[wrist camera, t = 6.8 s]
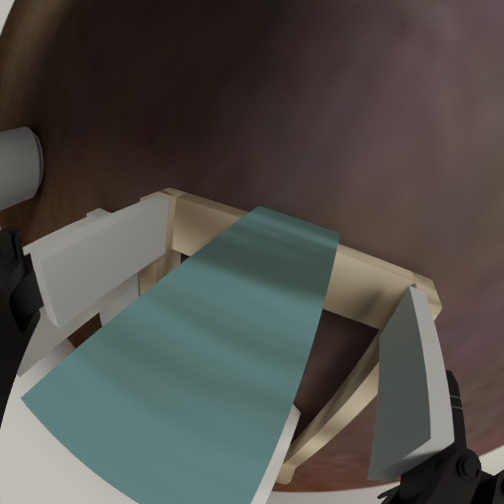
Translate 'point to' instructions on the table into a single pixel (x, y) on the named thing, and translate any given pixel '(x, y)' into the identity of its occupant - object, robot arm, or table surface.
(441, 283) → the table surface
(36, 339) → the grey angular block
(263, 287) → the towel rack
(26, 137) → the can
